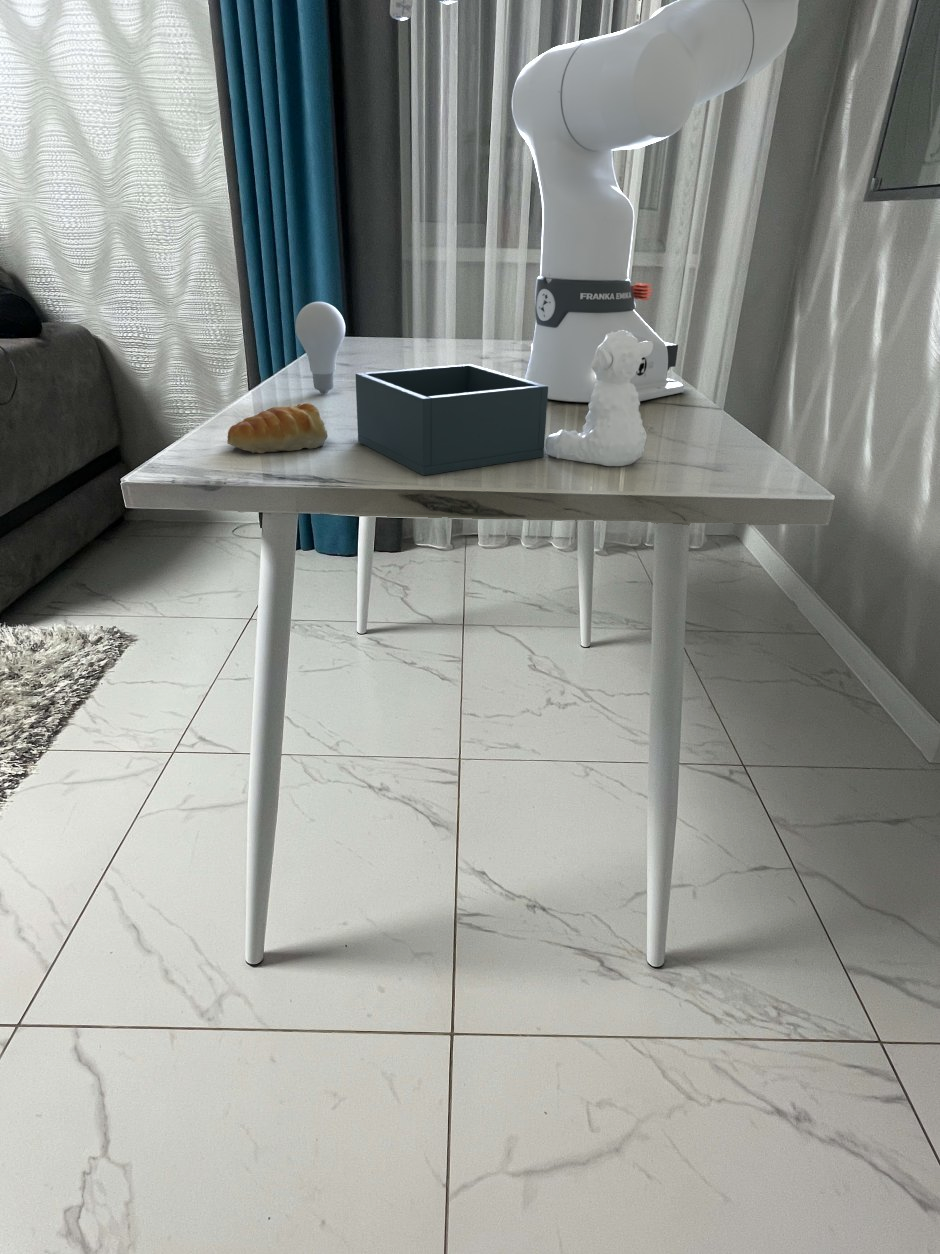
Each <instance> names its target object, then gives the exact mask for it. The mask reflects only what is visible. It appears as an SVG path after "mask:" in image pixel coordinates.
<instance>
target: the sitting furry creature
mask: <svg viewBox="0 0 940 1254" xmlns="http://www.w3.org/2000/svg"><path fill="white" fill-rule="evenodd" d="M652 349H653V343H652V341H644V342H640V343H638V339H637V338H635V337H634V336H633V335H632V333H627V332H626V331H624V330H622V331H617V332H612V333H611V334H610V333H608V334H607V335H606V338H605V340H604V342H603V343H602V344H601V345H599V346H598V347H597V350H596V354H595V357H594V359H593V362H592V364H591V368H592V369H593V370H594V371H595V374H596V379H597V381H598V383H596V384H595V389H594V390H593V393H592V395H591V402H588V405H587V407H588V409H589V411H588V412H587V415H585V421H586V422H585V423H584V424H583V426H582V431H581V432H580V433H579V432H578V431H577V430H575V429H573V430H569V431H568V430H566V429H560V430H559V431H558V432H555V433H552V434H549V435H547V436H546V438H545V443H544V451H545V453H546V455H548V456H550V457H553V458H556V459H558V460H559V459H563V460H567V461H575V462H580V463H586V464H587V463H588V464H595V465H600V466H605V467H623V466H624V467H625V466H629V465H632V464H634V463H635V462H636V461H637V460H638V459H640V458H641V457H642V456H643V453H644V452H645V446H646V445H647V444H646V441H647V437H648V434H647V432H646V429H645V427H644V425H643V422H644V420H643V419H642V417H641V412H640V410H639V409H640V405H641V401H639V400H638V396H639V395H638V392H637V391H636V388H635V386H634V384H632V383H630V379H631V378H632V377H634V375H635V373H636V371H637V370H638V369H639V366H640V364H641V361H642V358H643V357H646V356H648V355H650V354H651V352H652Z"/></svg>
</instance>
